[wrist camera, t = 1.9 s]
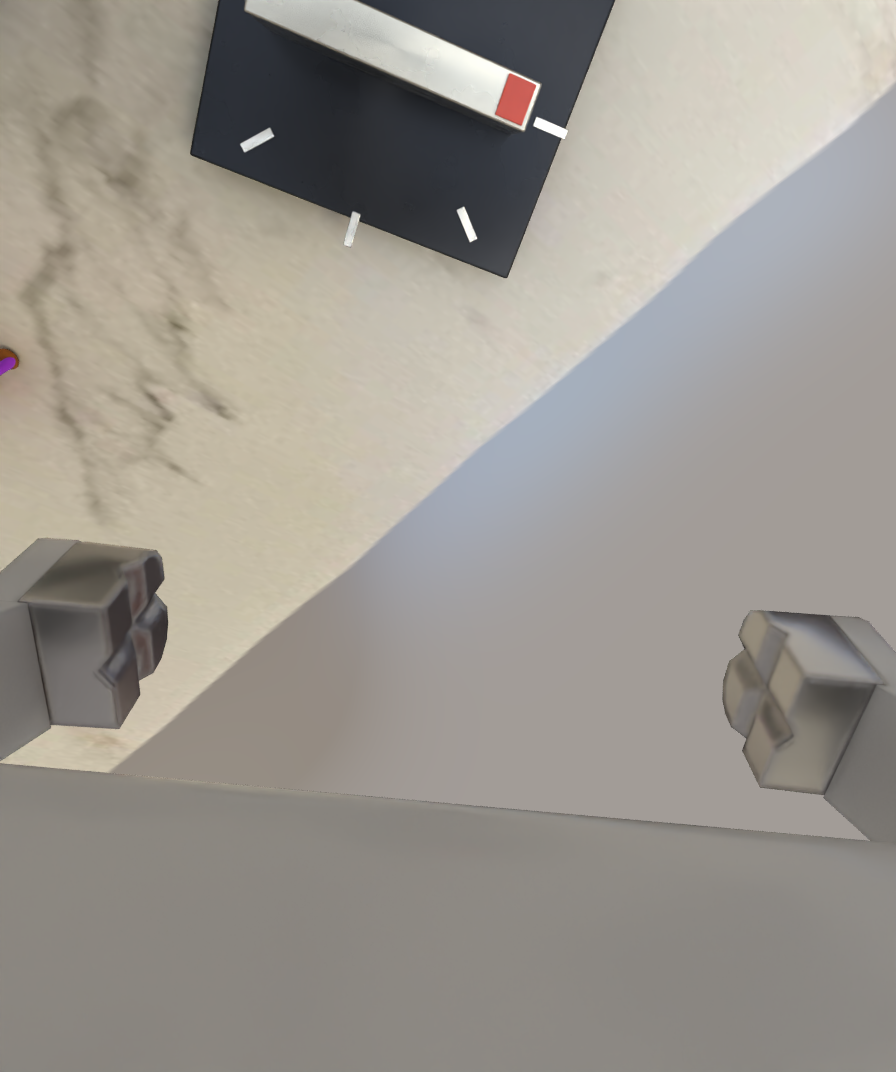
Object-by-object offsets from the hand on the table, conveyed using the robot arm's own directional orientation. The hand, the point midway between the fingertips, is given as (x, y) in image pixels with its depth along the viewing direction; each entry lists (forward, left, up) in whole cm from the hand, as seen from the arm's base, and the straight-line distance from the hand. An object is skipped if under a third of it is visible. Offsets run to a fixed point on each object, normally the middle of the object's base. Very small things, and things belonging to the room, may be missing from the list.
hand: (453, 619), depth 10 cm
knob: (-4, +8, -25) cm, 27 cm away
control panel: (-4, +8, -28) cm, 29 cm away
